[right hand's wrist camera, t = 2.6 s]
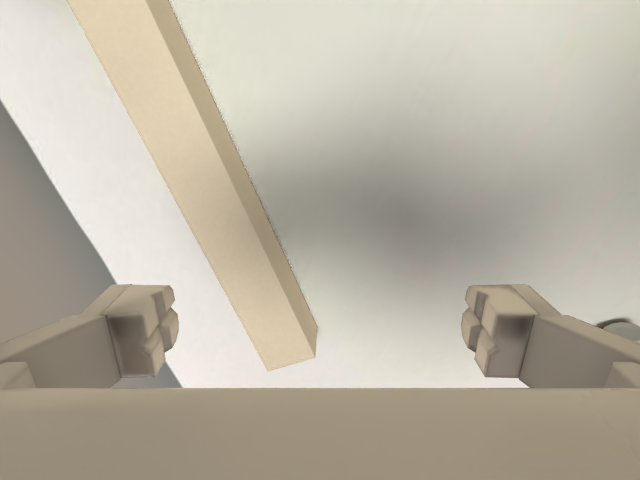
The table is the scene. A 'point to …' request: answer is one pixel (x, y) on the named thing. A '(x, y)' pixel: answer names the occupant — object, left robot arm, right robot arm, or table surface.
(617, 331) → the spray gun
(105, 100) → the table surface
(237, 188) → the beam
